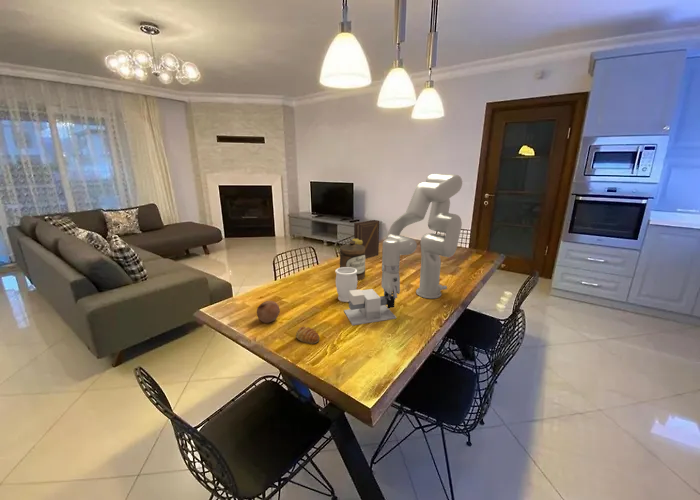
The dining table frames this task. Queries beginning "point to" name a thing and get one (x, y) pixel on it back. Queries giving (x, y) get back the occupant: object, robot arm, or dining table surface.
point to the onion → (268, 311)
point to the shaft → (383, 302)
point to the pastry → (307, 335)
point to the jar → (345, 282)
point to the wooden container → (353, 258)
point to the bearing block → (369, 310)
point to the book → (367, 236)
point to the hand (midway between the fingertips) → (389, 305)
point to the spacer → (356, 297)
